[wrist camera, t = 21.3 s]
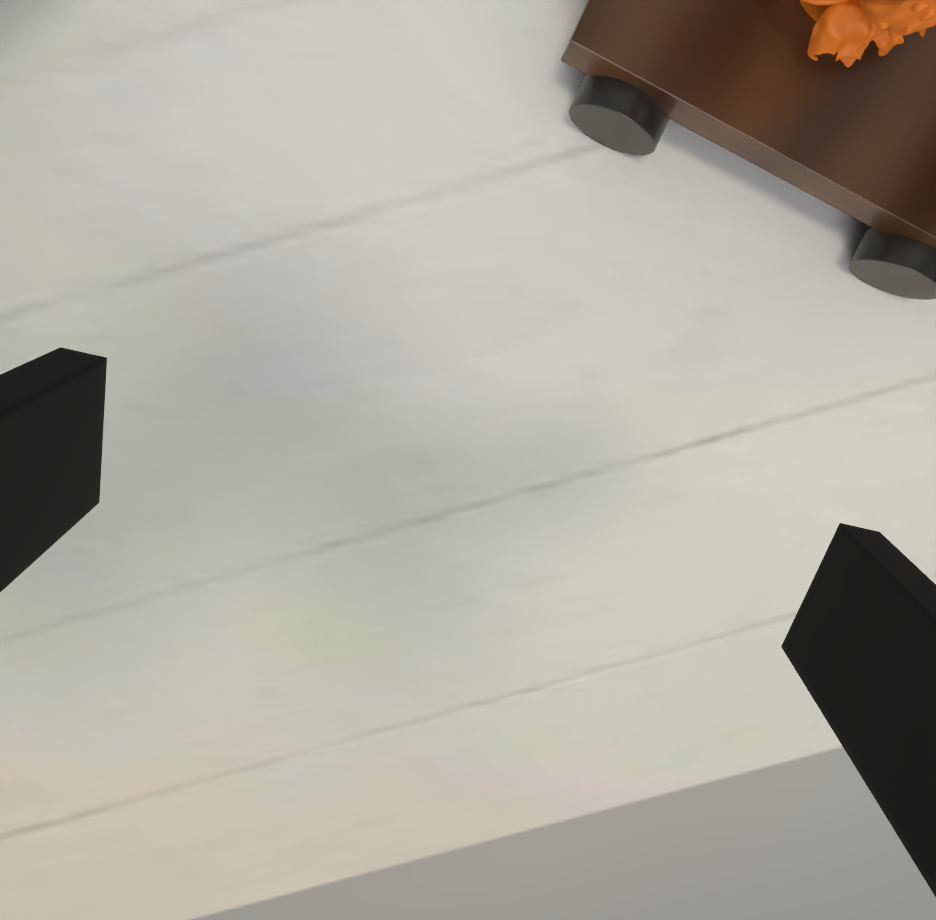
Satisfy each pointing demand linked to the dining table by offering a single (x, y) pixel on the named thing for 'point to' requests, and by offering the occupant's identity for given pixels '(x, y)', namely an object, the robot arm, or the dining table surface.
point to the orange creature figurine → (865, 25)
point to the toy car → (776, 112)
